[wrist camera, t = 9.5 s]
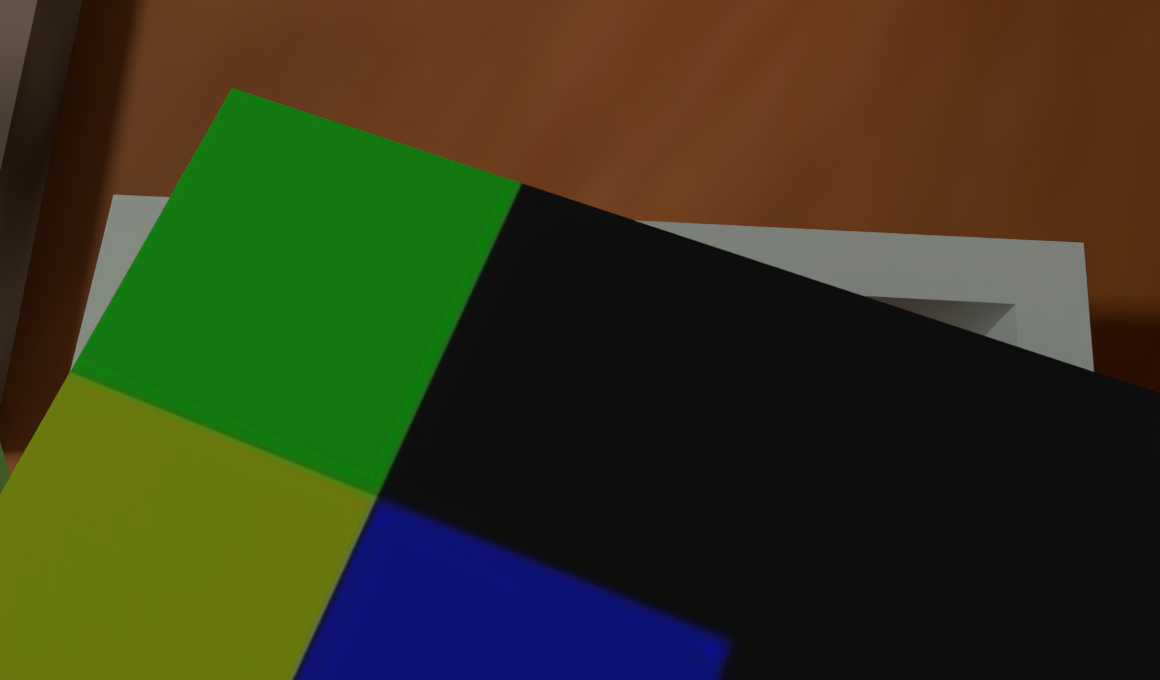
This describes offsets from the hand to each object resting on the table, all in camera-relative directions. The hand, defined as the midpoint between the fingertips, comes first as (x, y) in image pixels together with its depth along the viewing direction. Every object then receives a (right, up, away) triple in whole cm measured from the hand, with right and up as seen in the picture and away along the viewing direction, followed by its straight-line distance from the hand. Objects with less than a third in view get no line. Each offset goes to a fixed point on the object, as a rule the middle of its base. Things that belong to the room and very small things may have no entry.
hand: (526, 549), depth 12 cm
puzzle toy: (+1, -4, +6) cm, 7 cm away
